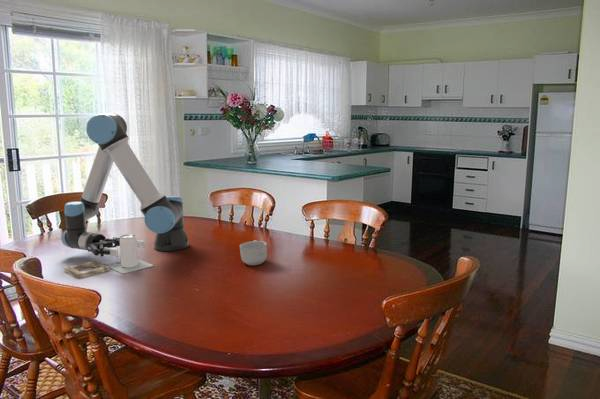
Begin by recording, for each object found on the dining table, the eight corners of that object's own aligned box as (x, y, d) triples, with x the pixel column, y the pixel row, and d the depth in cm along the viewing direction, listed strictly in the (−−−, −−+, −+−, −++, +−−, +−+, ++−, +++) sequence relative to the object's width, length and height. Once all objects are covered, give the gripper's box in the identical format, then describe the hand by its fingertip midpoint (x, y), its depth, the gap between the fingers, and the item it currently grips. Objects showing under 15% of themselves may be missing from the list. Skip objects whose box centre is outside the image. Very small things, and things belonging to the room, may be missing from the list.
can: (142, 264, 198) (140, 235, 195) (130, 269, 192) (128, 238, 190) (129, 262, 200) (127, 233, 198) (117, 267, 194) (115, 237, 192)
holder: (95, 264, 199) (95, 260, 199) (109, 270, 191) (109, 267, 191) (64, 271, 190) (64, 267, 190) (78, 278, 182) (77, 274, 182)
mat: (137, 259, 205) (136, 258, 205) (153, 266, 196) (153, 265, 196) (106, 266, 196) (106, 266, 196) (122, 274, 187) (122, 273, 187)
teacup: (263, 268, 193) (262, 248, 192) (236, 266, 195) (235, 246, 194) (272, 257, 207) (271, 239, 205) (247, 256, 209) (246, 237, 207)
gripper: (117, 243, 215) (154, 250, 206) (67, 259, 194) (105, 266, 184) (116, 227, 214) (153, 232, 204) (65, 240, 192) (104, 247, 183)
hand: (130, 248), depth 194 cm, fingers open, 13 cm apart
